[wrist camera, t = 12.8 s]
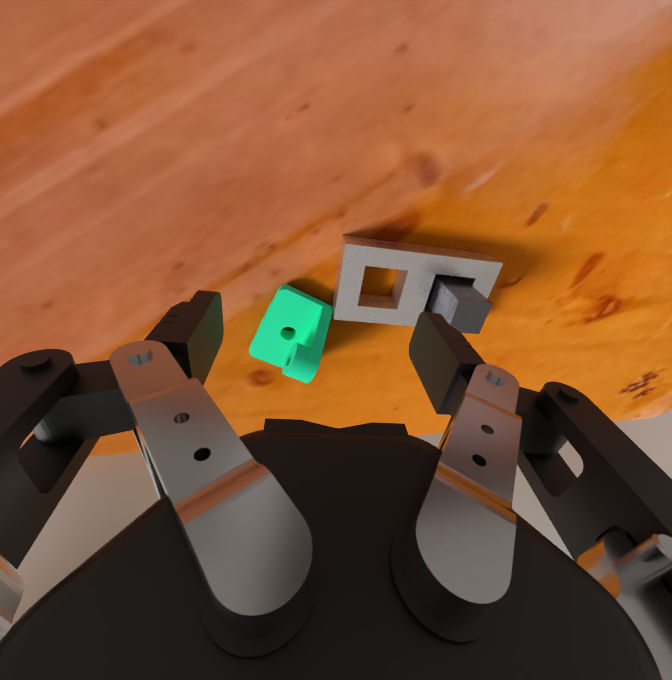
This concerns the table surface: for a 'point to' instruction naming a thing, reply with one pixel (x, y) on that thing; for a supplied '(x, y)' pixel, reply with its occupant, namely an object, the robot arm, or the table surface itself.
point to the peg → (458, 303)
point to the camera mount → (293, 333)
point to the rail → (402, 278)
